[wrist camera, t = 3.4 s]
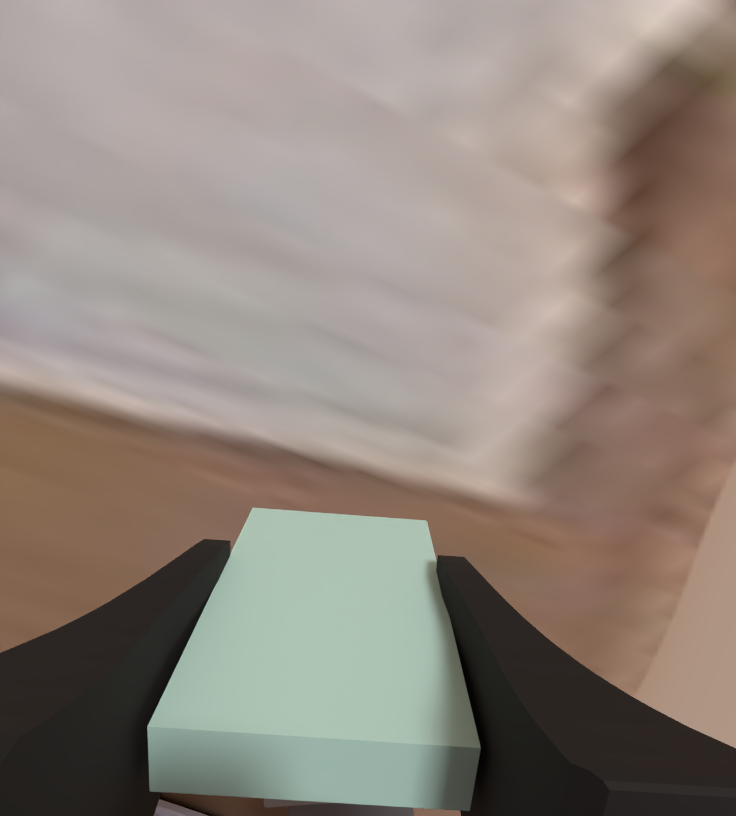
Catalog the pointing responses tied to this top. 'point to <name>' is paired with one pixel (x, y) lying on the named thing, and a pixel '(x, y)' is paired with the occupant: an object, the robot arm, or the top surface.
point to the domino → (348, 810)
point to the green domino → (321, 672)
